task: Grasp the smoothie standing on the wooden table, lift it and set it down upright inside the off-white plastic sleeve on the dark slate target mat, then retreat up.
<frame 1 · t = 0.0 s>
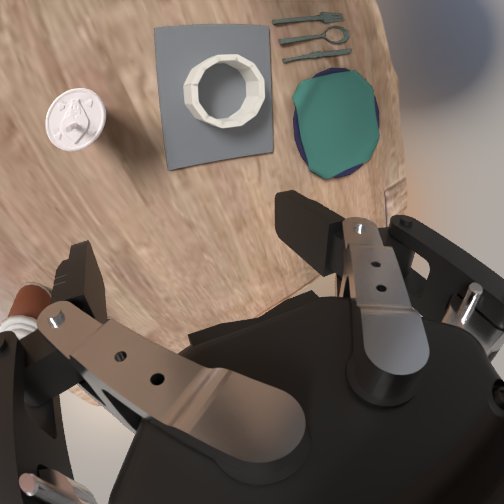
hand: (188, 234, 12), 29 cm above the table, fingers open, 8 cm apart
sleeve stand: (217, 90, 36), on the table
coffee cup: (35, 298, 37), on the table
cutlery set: (329, 94, 44), on the table
smoothie: (84, 115, 30), on the table
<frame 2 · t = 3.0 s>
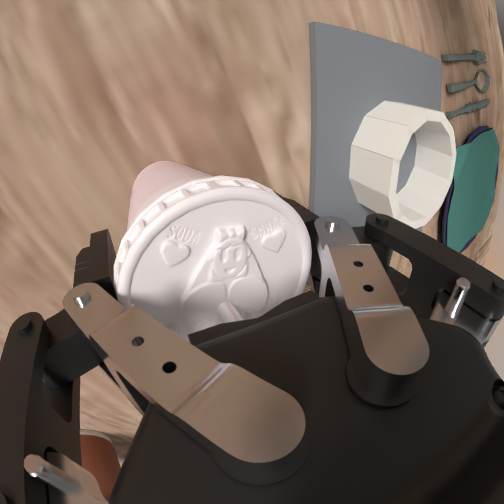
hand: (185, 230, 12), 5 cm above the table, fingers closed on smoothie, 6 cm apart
sleeve stand: (385, 155, 22), on the table
coffee cup: (85, 440, 24), on the table
cutlery set: (467, 156, 30), on the table
smoothie: (163, 191, 16), on the table, touching gripper
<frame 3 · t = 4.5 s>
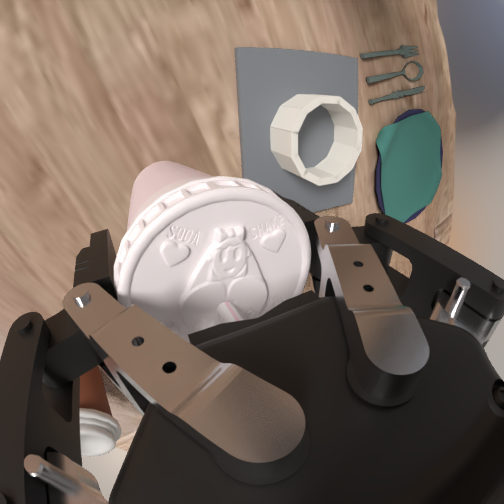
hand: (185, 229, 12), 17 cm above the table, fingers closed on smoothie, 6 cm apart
sleeve stand: (304, 134, 32), on the table
coffee cup: (78, 368, 33), on the table
cutlery set: (403, 136, 40), on the table
smoothie: (163, 191, 16), point 12 cm above the table, touching gripper
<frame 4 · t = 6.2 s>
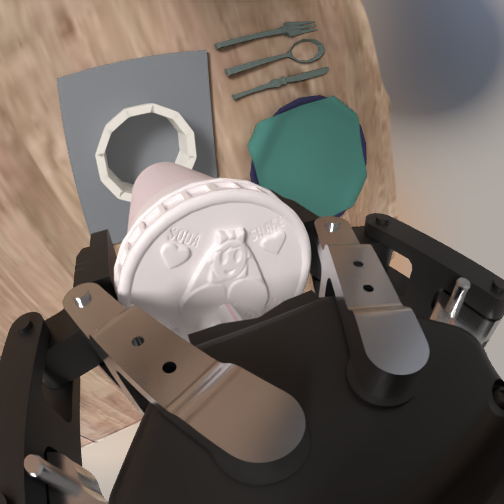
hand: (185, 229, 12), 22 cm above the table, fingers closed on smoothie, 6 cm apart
sleeve stand: (142, 147, 29), on the table
cutlery set: (300, 130, 37), on the table
smoothie: (163, 192, 16), point 16 cm above the table, touching gripper
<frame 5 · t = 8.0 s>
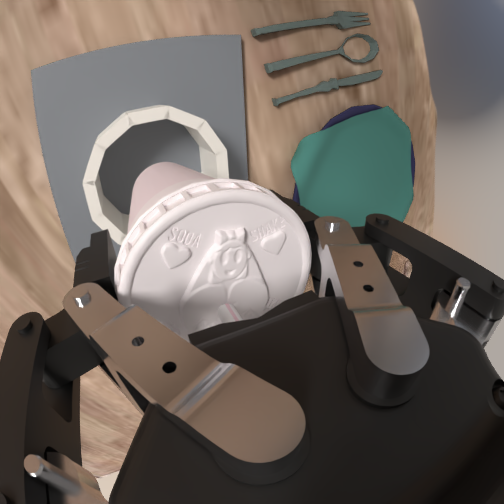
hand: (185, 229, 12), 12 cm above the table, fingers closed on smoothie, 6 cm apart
sleeve stand: (149, 167, 21), on the table
cutlery set: (348, 146, 30), on the table
smoothie: (163, 192, 16), point 7 cm above the table, touching gripper
when the fingers open (7 cm above the table, at t = 9.6 s): smoothie drops 1 cm, resting on sleeve stand.
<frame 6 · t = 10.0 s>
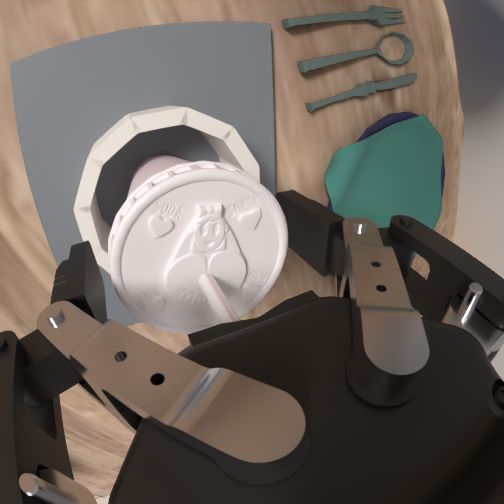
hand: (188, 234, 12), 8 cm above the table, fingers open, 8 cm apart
sleeve stand: (158, 183, 18), on the table
cutlery set: (381, 157, 26), on the table
smoothie: (160, 182, 17), resting on sleeve stand
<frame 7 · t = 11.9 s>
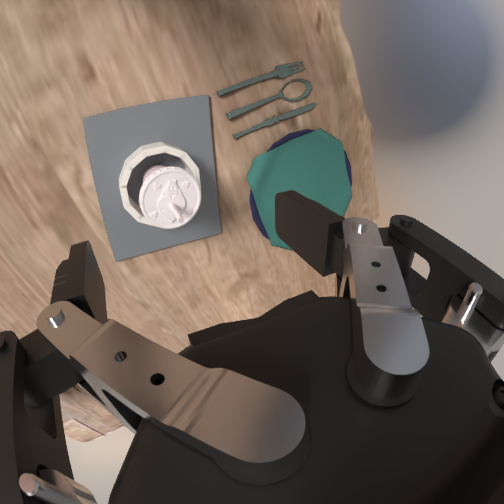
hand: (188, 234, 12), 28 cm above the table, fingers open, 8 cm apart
sleeve stand: (155, 178, 36), on the table
cutlery set: (291, 160, 45), on the table
smoothie: (156, 178, 36), resting on sleeve stand
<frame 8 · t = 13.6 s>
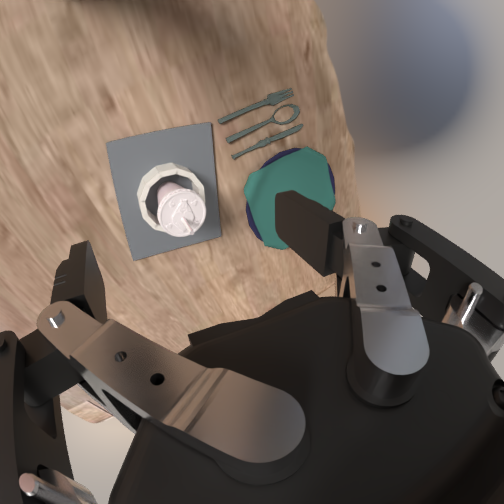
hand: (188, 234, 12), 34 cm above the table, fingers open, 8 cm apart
sleeve stand: (167, 192, 45), on the table
cutlery set: (282, 173, 53), on the table
smoothie: (168, 192, 44), resting on sleeve stand
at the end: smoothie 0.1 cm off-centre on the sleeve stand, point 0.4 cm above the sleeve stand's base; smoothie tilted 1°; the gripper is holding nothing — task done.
